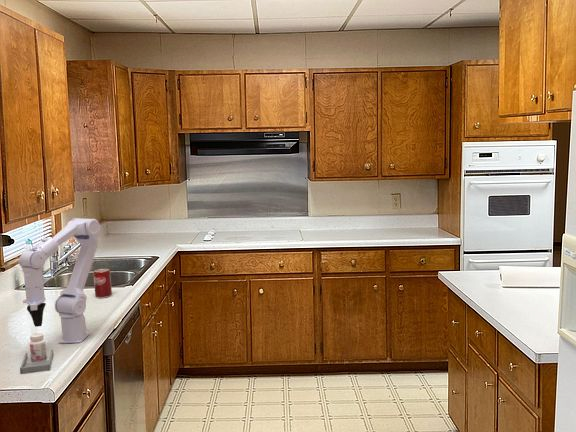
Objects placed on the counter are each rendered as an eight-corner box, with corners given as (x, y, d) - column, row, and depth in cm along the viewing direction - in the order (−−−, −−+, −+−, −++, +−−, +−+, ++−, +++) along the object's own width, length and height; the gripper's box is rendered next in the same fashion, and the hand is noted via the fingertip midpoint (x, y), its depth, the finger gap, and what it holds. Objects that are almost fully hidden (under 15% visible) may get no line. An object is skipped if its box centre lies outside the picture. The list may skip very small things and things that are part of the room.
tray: (26, 357, 218) (25, 352, 217) (53, 354, 220) (53, 349, 220) (20, 373, 203) (19, 368, 203) (49, 370, 205) (49, 364, 205)
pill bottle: (28, 362, 214) (25, 337, 213) (36, 357, 218) (33, 332, 217) (42, 362, 213) (39, 337, 212) (49, 357, 218) (47, 332, 216)
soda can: (103, 299, 291) (101, 272, 289) (91, 297, 294) (89, 271, 293) (115, 295, 297) (113, 269, 295) (104, 293, 300) (102, 267, 299)
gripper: (24, 282, 225) (28, 321, 227) (18, 292, 211) (23, 333, 213) (46, 280, 227) (49, 318, 229) (42, 290, 213) (46, 330, 215)
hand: (38, 325), depth 221 cm, fingers closed
